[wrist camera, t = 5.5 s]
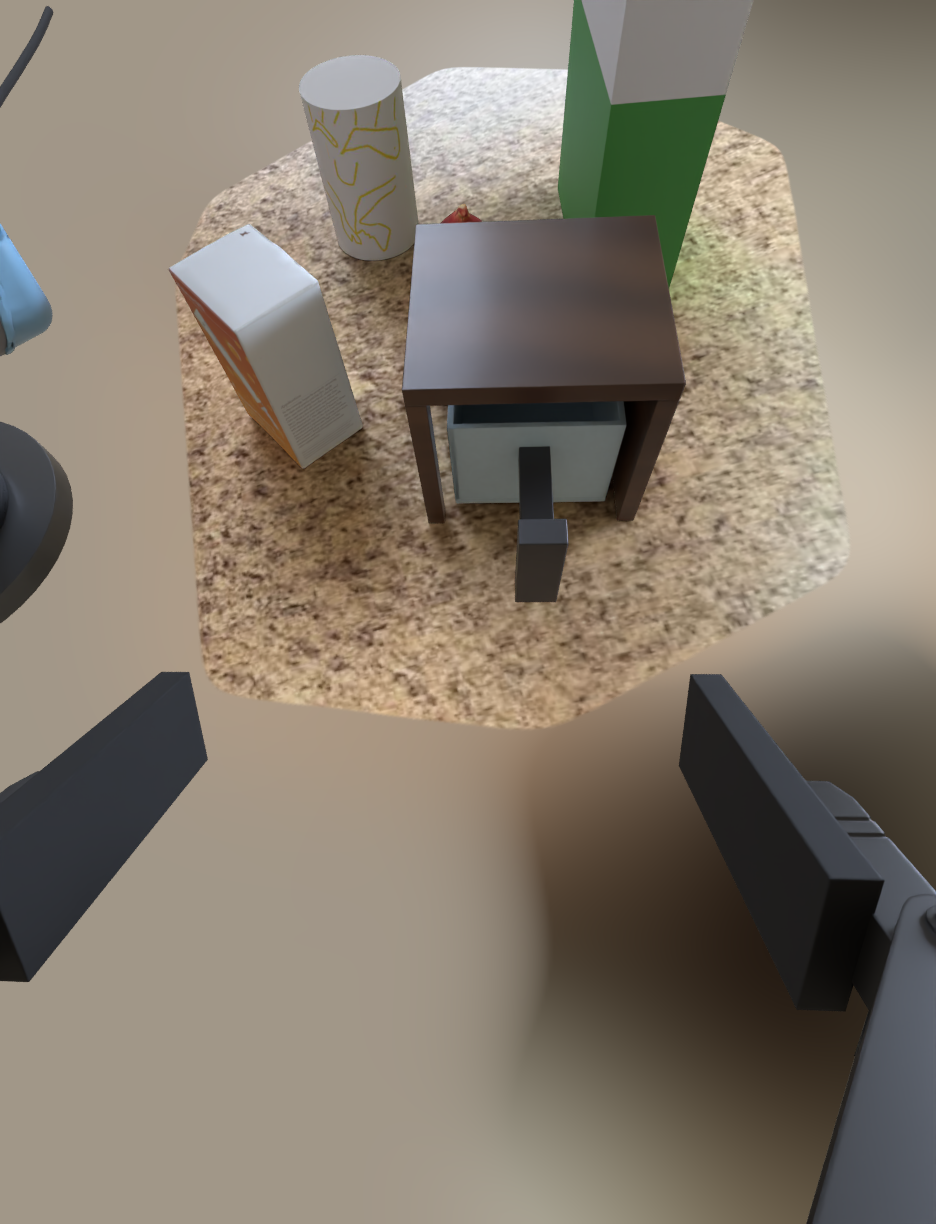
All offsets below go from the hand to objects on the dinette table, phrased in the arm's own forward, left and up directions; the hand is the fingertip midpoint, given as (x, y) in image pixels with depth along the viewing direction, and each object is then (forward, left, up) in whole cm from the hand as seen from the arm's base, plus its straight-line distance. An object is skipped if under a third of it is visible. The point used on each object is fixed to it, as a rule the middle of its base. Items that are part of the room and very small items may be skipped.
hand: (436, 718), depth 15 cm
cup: (-54, +9, -21) cm, 59 cm away
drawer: (-19, +11, -21) cm, 31 cm away
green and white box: (-44, +29, -21) cm, 57 cm away
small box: (-33, -3, -21) cm, 39 cm away
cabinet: (-24, +13, -21) cm, 34 cm away
